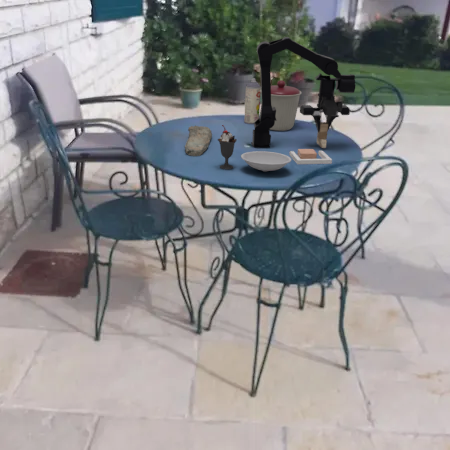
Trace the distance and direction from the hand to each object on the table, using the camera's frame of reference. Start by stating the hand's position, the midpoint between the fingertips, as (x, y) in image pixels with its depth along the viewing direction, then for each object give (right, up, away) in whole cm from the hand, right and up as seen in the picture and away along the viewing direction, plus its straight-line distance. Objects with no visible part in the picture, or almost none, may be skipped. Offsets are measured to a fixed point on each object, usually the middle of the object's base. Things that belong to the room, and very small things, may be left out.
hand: (322, 131), depth 220 cm
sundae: (-38, -17, -23) cm, 48 cm away
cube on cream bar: (0, -5, +2) cm, 6 cm away
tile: (-8, -11, -9) cm, 16 cm away
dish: (-25, -18, -26) cm, 40 cm away
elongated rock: (-49, -5, +3) cm, 50 cm away
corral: (-7, -12, -11) cm, 18 cm away
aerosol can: (-26, +10, +37) cm, 47 cm away
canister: (-15, +6, +29) cm, 33 cm away
